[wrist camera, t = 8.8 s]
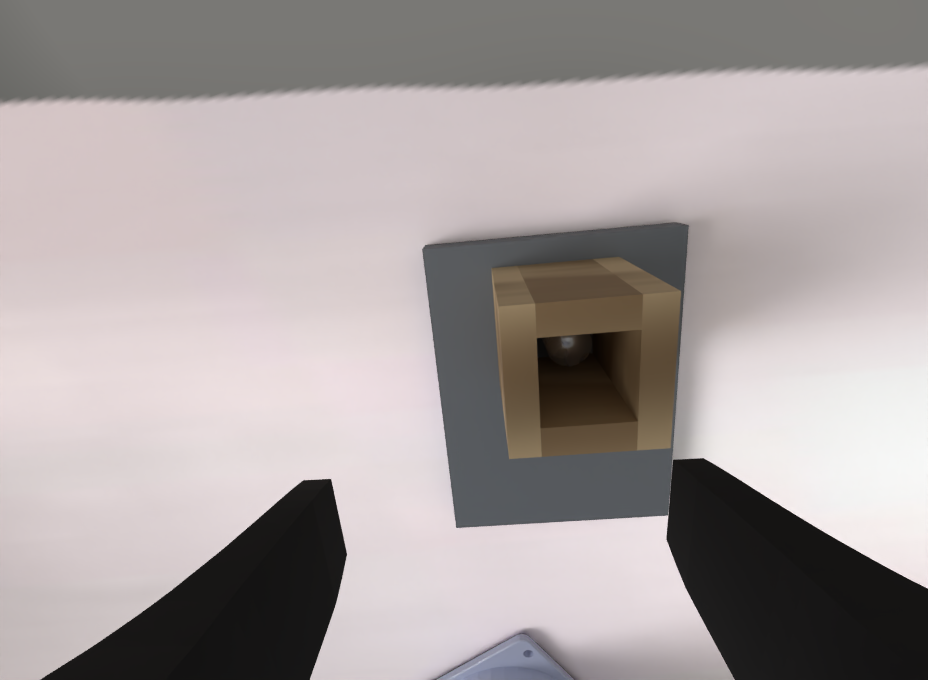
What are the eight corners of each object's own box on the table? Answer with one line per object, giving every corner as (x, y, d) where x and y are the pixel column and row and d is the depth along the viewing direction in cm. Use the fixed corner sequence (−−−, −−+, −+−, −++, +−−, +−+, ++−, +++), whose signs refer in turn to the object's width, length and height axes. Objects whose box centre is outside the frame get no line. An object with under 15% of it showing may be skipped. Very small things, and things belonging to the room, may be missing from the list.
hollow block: (616, 373, 17) (670, 448, 12) (499, 382, 17) (508, 459, 13) (619, 256, 16) (681, 291, 11) (491, 268, 16) (498, 306, 11)
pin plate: (659, 499, 20) (668, 515, 19) (457, 512, 21) (456, 527, 20) (676, 222, 16) (688, 225, 15) (425, 245, 17) (422, 249, 16)
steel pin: (582, 323, 17) (600, 348, 14) (551, 347, 17) (563, 374, 14) (560, 295, 16) (574, 315, 14) (528, 318, 16) (537, 342, 14)
